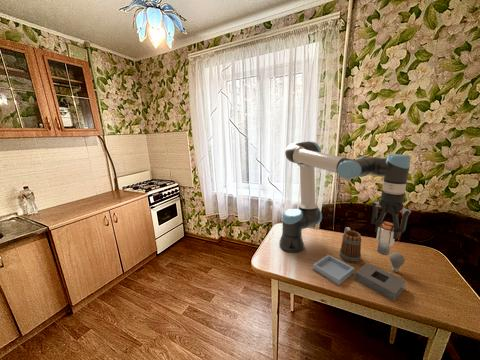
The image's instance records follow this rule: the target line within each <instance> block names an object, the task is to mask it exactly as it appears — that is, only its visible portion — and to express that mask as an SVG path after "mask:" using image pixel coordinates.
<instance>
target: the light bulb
mask: <svg viewBox="0 0 480 360" xmlns="http://www.w3.org/2000/svg"><path fill="white" fill-rule="evenodd" d="M389 261H390V262H391V271H392V272H396V273H398V272H399V270H400V268H401V266H403V265H405V262H406V260H405V256H404V255H403V254H402V253H400V252H392V253H391V254H389Z"/></svg>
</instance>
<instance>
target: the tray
mask: <svg viewBox="0 0 480 360" xmlns="http://www.w3.org/2000/svg"><path fill="white" fill-rule="evenodd" d="M312 270H313V271H314V272H315V273H317V274H318V275H319V274H320V276H323V277H324V278H326V279H328V280H329V281H330V282H331V283H333V284H335V285H337V286H340V285H341V284H342V283H344V282H345V281H346V280H347V279H348V278H350V277H351V276H352V275H353V274H355V273H354V272H355V267H353V266H351V265H349V264H348V263H346V262H344V261H342V260H339V259H338V258H336V257H334V256H333V255H330V254H326V256H324V257H322V258H321V259H319V260H318V261H316V262H315V263H313V264H312Z"/></svg>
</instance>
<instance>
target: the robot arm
mask: <svg viewBox="0 0 480 360" xmlns="http://www.w3.org/2000/svg"><path fill="white" fill-rule="evenodd" d="M284 153H285V154H284V155H285V158H286V159H287V160H288V161H289V162H291V163H293V164H297V166H299V176H300V177H299V178H300V181H299V182H300V203H299V205H298V208H288V209H286V210H285V211H283V212H282V218H281V219H282V228H281V229H282V233H281V237H280V239H279V248H280V249H281V250H283V251H284V252H287V253H293V254H295V253H301V252H302V251H303V250H304V249H305V243H304V240H303V236H302V231H303V230H304V229H308V228H310V227H314V226H317V225H318V224H319V223H321V222H322V219H323V212H322V211H321V209H320V208H319V205H318V204H316V184H315V183H316V178H315V168H316V169H320V170H324V171H327V172H330V173H333V174H338V175H339V176H340V178H342V179H345V180H348V179H349V180H351V179H352V180H353V179H355V178H361V177H365V176H370V175H374V176H379V177H383V184H382V191H381V196H380V200H379V201H374V202H371V205H372V214H371V215H372V216H371V222H370V223H371V224H372V225H375V228H374V229H375V230H374V232H375V233H376V238H375V239H376V241H378V242H379V236H380V230H381V223H382V222H384V221H383V220H384V219H385V217H386V215H387V214H390V215H391V217H392V224H393V227H394V229H393V231H392V232H391V238H390V244H389V245H390V247H392V246H393V245H394V244H395V240H397V239H398V238H399V234H400V233H401V234H402V233H404V232H405V231H406V230H407V229H406V228H407V223H408V219H409V215H410V214H411V213H412V210H411V209H407V208H405V206H404V200H405V193H406V188H407V183H408V177H409V172H410V168H411V156H409V155H407V154H402V153H401V154H400V153H399V154H398V153H391V154H387V156H386V158H384V157H375V156H370V155H369V156H367V155H366V156H359V157H358V158H356V159H354V158H353V159H352V158H349V157H345V156H344V157H343V156H338V155H335V154H329V153H325V152H322V149H321V146H320V145H319V144H318V143H317V142H315V141H307V140H306V141H299V142H298V141H297V142H292V143H290V144H289V145H287V147H286V148H285V152H284ZM379 207H381V211H380V214H379V216H378V213H379ZM401 211H402V214H403V215H402V218H401V222H400V221H399V212H401Z"/></svg>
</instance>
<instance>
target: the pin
mask: <svg viewBox="0 0 480 360" xmlns="http://www.w3.org/2000/svg"><path fill="white" fill-rule="evenodd" d="M380 226H381V230H380V236H379V240H378V243H377V250H376V252H377V253H378V254H380V255H383V256H390V251H391V246H390V245H389V244H390V238H391V232H392V231H393V230H394V227H393V222H389V221H382V223H381V225H380Z"/></svg>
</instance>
